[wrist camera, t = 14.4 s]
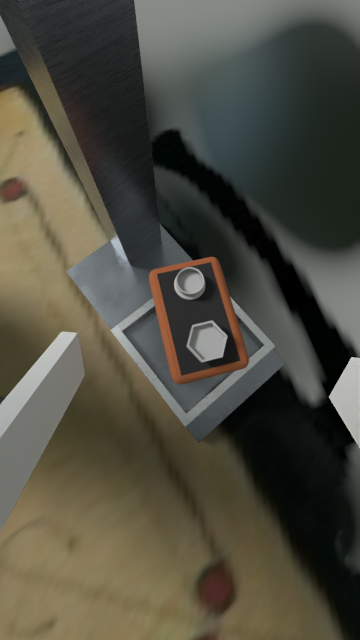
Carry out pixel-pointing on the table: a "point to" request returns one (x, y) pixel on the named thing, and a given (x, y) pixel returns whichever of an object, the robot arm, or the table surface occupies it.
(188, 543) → the table surface
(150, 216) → the arbor press
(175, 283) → the battery
